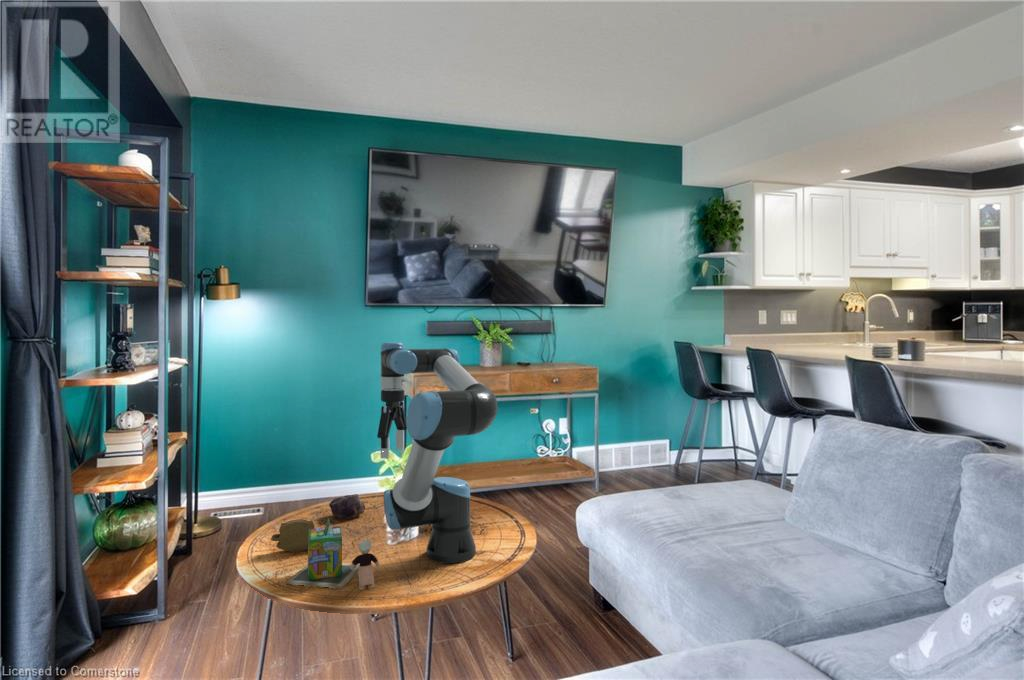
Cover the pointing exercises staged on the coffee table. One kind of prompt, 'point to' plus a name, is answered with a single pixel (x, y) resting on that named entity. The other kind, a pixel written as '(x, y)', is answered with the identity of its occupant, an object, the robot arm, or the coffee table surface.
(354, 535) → the coffee table surface
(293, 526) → the wooden carving
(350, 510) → the rock
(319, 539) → the chalk box
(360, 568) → the grandmother figurine
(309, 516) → the coffee table surface
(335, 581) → the chalkboard
